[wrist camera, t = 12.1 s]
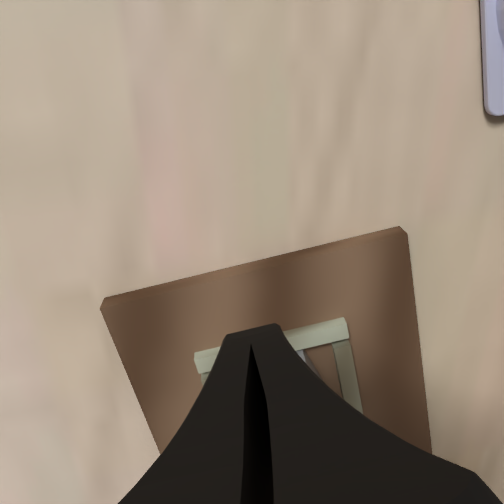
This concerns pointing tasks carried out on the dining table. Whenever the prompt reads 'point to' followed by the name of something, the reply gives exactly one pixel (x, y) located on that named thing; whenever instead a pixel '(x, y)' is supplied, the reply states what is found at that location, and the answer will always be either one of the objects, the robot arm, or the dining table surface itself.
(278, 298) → the board
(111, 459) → the dining table surface
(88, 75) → the dining table surface
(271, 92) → the dining table surface
